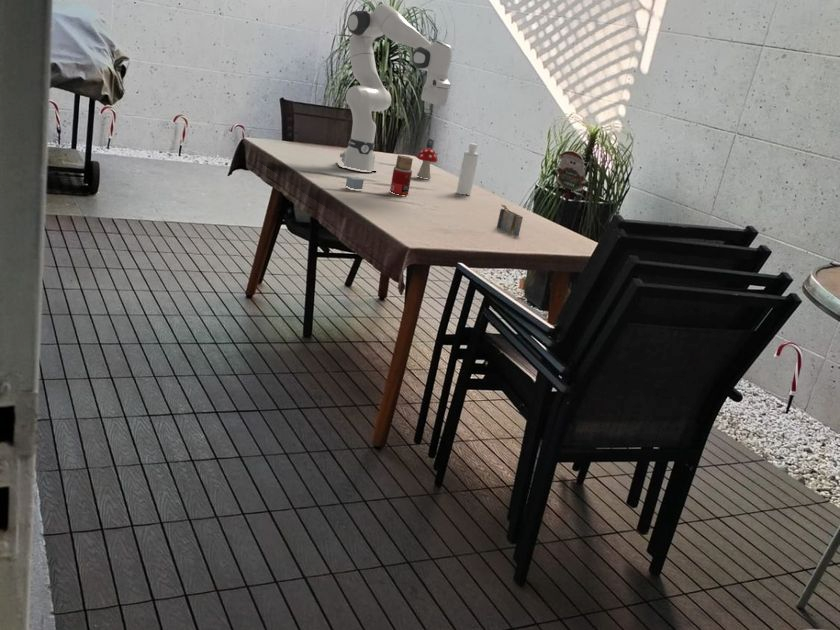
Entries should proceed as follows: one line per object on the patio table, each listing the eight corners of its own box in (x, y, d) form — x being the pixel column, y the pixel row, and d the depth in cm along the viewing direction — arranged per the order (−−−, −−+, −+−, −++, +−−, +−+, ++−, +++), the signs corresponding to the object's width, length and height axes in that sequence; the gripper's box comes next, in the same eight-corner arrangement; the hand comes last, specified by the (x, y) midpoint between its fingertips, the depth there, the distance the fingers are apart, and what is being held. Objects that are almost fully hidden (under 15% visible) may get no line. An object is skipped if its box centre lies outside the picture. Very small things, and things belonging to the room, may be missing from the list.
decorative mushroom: (434, 179, 404) (439, 149, 399) (432, 181, 396) (438, 151, 391) (414, 175, 404) (419, 145, 399) (412, 177, 396) (418, 147, 391)
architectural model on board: (495, 227, 319) (500, 203, 316) (501, 228, 321) (507, 204, 318) (512, 235, 310) (517, 211, 307) (518, 236, 312) (524, 211, 309)
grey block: (345, 188, 338) (347, 176, 336) (355, 188, 341) (357, 177, 339) (351, 191, 334) (353, 179, 332) (361, 191, 337) (363, 179, 336)
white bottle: (469, 196, 375) (480, 142, 367) (455, 193, 376) (466, 139, 368) (471, 194, 381) (482, 141, 373) (457, 191, 382) (468, 138, 374)
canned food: (404, 197, 343) (408, 171, 339) (386, 192, 345) (391, 167, 341) (410, 195, 350) (414, 170, 346) (393, 190, 352) (397, 165, 348)
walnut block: (395, 166, 345) (397, 155, 344) (406, 168, 347) (408, 156, 346) (399, 169, 341) (401, 157, 339) (410, 170, 343) (412, 158, 341)
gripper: (421, 77, 354) (415, 109, 358) (438, 82, 336) (432, 116, 340) (434, 80, 356) (428, 111, 360) (452, 85, 338) (446, 118, 343)
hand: (430, 114), depth 350 cm, fingers open, 8 cm apart
